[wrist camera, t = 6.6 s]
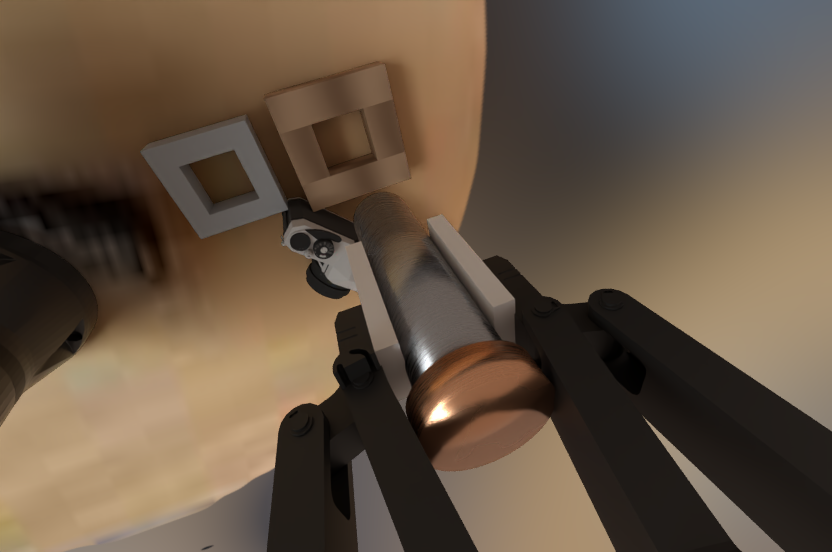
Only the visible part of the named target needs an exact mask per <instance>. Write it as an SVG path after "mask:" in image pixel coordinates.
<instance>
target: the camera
mask: <svg viewBox="0 0 832 552" xmlns="http://www.w3.org/2000/svg"><path fill="white" fill-rule="evenodd" d="M287 202H288V210H286V211H283V212H282V216H283V230H284V233H283V236H284V238H283V237H282V236H281V239H282V242H281V244H282V246H285V245H287V246H288V247H289V249H290V250H291V251H293V252H296V253H299V254H301V255H304V256H305V257H306V258H307V259H310V258H312V263H311V264H310V265H309V267H308V269H307V271H306V275H307V278H306V279H307V282H308V284H309V285H310V286H311V287H312V288H313V289H314V290H315V291H316V292H318V293H319V294H321V295H323V296H326V297H328V298H332V299H339V298H342V297H343V296H346V295H347V294H348V293H349V292H350V290H353V291H356V292H358V291H357V288H356V284H355V281H354V277H353V273H352V270H351V266H350V263H349V259H348V256H347V252H346V249H345V246H348V245H351V244H354V243H357V242H359V239H358V236H357V233H356V230H355V227H354V222H353V221H350V220H348V219H346V218H344V217H342V216H340V215H337V214H335V213H333V212H331V211H329V210H327V209H321V210H318V211H315V212H313V210H312V208H311V206H310V203H309V201H307V200H305V199H303V198H301V197H296V198H289V199H288V201H287ZM283 239H284V240H283Z"/></svg>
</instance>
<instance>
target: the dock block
mask: <svg viewBox="0 0 832 552" xmlns="http://www.w3.org/2000/svg"><path fill="white" fill-rule="evenodd" d="M264 101H265V103H266V105H267V107H268V110H269V112H270V114H271V117H272V119H273V121H274V123H275V126H276V128H277V130H278V133H279V135H280V137H281V139H282V142H283V144H284V146H285V149H286V151H287V153H288V155H289V158H290V160H291V162H292V165H293V167H294V169H295V171H296V174H297V176H298V178H299V181H300V183H301V185H302V187H303V190H304V192H305V194H306V197H307V199H308V201H309V203H310V206H311V208H312V210H313V212H315V211H318V210H321V209H324V208H327V207H329V206H332V205H335V204H338V203H341V202H344V201H347V200H350V199H353V198H356V197H359V196H362V195H364V194H367V193H370V192H373V191H376V190H379V189H382V188H385V187H388V186H391V185H394V184H397V183H399V182H402V181H405V180H408V179H411V175H410V171H409V167H408V162H407V158H406V154H405V149H404V145H403V140H402V136H401V132H400V127H399V123H398V118H397V114H396V110H395V105H394V101H393V97H392V92H391V88H390V83H389V79H388V75H387V70H386V66H385V63H381V62H374V63H371V64H367V65H364V66H361V67H357V68H354V69H350V70H347V71H343V72H340V73H337V74H333V75H330V76H326V77H323V78H319V79H316V80H313V81H309V82H306V83H302V84H299V85H296V86H292V87H289V88H285V89H282V90H278V91H275V92H272V93H268V94H265V95H264ZM357 110H360V113H361V117H362V120H363V124H364V127H365V131H366V134H367V138H368V141H369V144H370V148H371V151H372V153H371V154H368V155H365V156H362V157H359V158H356V159H353V160H350V161H347V162H344V163H341V164H338V165H335V166H332V167H329V168H327V166H326V163H325V160H324V158H323V155H322V152H321V150H320V147H319V144H318V142H317V139H316V136H315V134H314V131H313V129H312V126H311V124H314V123H318V122H321V121H324V120H327V119H331V118H334V117H337V116H340V115H344V114H347V113H350V112H353V111H357Z"/></svg>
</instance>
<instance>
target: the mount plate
mask: <svg viewBox="0 0 832 552" xmlns="http://www.w3.org/2000/svg"><path fill="white" fill-rule="evenodd" d="M232 150H234V151H235V153H236V155H237V157H238V158H239V160H240V162H241V164H242V166H243V168H244V170H245V172H246V174H247V175H248V177H249V179H250V181H251V183H252V185H253V187H254V189H255V191H252V192H249V193H246V194H243V195H240V196H237V197H234V198H231V199H227V200H224V201H221V202H218V203H215V204H213V202H212V201H211V199H210V198H209V196H208V194H207V193H206V191H205V190H204V188H203V186H202V185H201V183H200V182H199V180H198V178H197V177H196V175H195V174H194V172H193V170H192V169H191V167H190V166H189V164H190V163H193V162H196V161H199V160H202V159H206V158H209V157H212V156H215V155H219V154H222V153H225V152H228V151H232ZM140 153H141V154H142V155H143V157H144V158H145V160H146V161H147V163H148V164H149V166H150V167H151V168H152V170H153V171H154V173H155V174H156V176H157V177H158V178H159V180H160V181H161V183H162V184H163V186H164V187H165V188H166V190H167V191H168V193H169V194H170V196H171V197H172V198H173V200H174V201H175V203H176V204H177V206H178V207H179V208H180V210H181V211H182V213H183V214H184V216H185V217H186V219H187V220H188V221H189V223H190V224H191V226H192V227H193V229H194V230H195V231H196V233H197V234H198V236H199V237H200V239H203V238H206V237H209V236H212V235H215V234H218V233H221V232H224V231H227V230H230V229H233V228H236V227H239V226H242V225H245V224H248V223H251V222H254V221H256V220H259V219H262V218H265V217H268V216H271V215H274V214H277V213H280V212H283V211H286V210H288V202H287V198H286V196H285V194H284V192H283V190H282V188H281V185H280V183H279V181H278V179H277V177H276V175H275V173H274V171H273V169H272V167H271V164H270V162H269V160H268V158H267V156H266V154H265V152H264V150H263V148H262V146H261V144H260V141H259V139H258V137H257V135H256V133H255V131H254V129H253V127H252V125H251V123H250V121H249V118H248V116H247V114H246V115H242V116H239V117H236V118H232V119H229V120H226V121H222V122H219V123H215V124H212V125H209V126H205V127H202V128H199V129H195V130H192V131H189V132H185V133H182V134H178V135H175V136H172V137H168V138H165V139H162V140H158V141H155V142H152V143H149V144H147V145H146V146H145V147H144V148H143V149H142V150H141V151H140Z"/></svg>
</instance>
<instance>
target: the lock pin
mask: <svg viewBox="0 0 832 552" xmlns="http://www.w3.org/2000/svg"><path fill="white" fill-rule="evenodd" d="M354 227H355V230H356V233H357V236H358V239H359V242H360V241H361V242H362V245H363V247H364V250H365V253H366V256H367V258H368V261H369V264H370V267H371V269H372V272H373V275H374V277H375V280H376V283H377V286H378V288H379V291H380V294H381V297H382V299H383V302H384V305H385V307H386V310H387V313H388V316H389V318H390V321H391V324H392V326H393V329H394V332H395V335H396V337H397V340H398V343H399V346H400V349H401V352H402V355H403V357H404V360H405V370H406V373H407V376H408V379H409V381H410V384H411V387H412V388H411V390H410V392H409V395H408V397H407V401H406V414H407V418H408V420H409V422H410V424H411V426H412V428H413V430H414V432H415V434H416V435H417V437H418V439H419V441H420V443H421V445H422V447H423V449H424V451H425V452H426V454H427V456H428V458H429V460H430V462H431V464H432V466H433V467H434V469H436V470H441V471H462V470H468V469H473V468H477V467H480V466H483V465H486V464H488V463H491V462H494V461H496V460H498V459H500V458H502V457H504V456H506V455H508V454H510V453H511V452H513V451H515V450H516V449H518V448H519V447H520V446H522V445H524V444H525V443H526V442H527V441H529V440H530V439H531V438H532V437H533V436H534V435H535V434H537V432H539V431H540V429H541V428H542V427H543V426H544V425H545V424H546V422H547V421H548V419H549V418H550V416H551V414H552V412H553V411H554V401H555V388H554V386H553V385H552V383H551V382H550V381H549V379H548V378H547V377H546V375H545V374H544V373H543V372H542V370H541V369H540V368H539V366H538V365H537V364H536V362H535V361H534V360H533V358H532V357H531V356H530V354H529V353H528V352H527V351H526V350H525V349H524V348H523V347H522V346H520V345H518V344H516V343H513V342H509V341H503V340H502V339H501V338H500V336H499V335H498V333H497V332H496V331H495V329H494V328H493V326H492V325H491V324H490V322H489V321H488V319H487V318H486V316H485V315H484V314H483V312H482V311H481V309H480V308H479V307H478V305H477V304H476V302H475V301H474V299H473V298H472V297H471V295H470V294H469V292H468V291H467V289H466V288H465V287H464V285H463V284H462V282H461V281H460V280H459V278H458V277H457V275H456V274H455V272H454V271H453V270H452V268H451V267H450V265H449V264H448V263H447V261H446V260H445V258H444V257H443V255H442V254H441V253H440V251H439V250H438V248H437V247H436V246H435V244H434V243H433V241H432V240H431V238H430V237H429V236H428V234H427V233H426V231H425V230H424V229H423V227H422V226H421V224H420V223H419V221H418V220H417V219H416V217H415V216H414V214H413V213H412V211H411V210H410V209H409V207H408V206H407V204H406V203H405V202H404V201H403V199H401V198H400V197H399V196H397V195H395V194H392V193H387V192H381V193H375V194H373V195H370V196H368V197H367V198H365V199H364V200H363V201H362V202H361V203H360V204H359V206H358V207H357V209H356V211H355V214H354Z"/></svg>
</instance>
